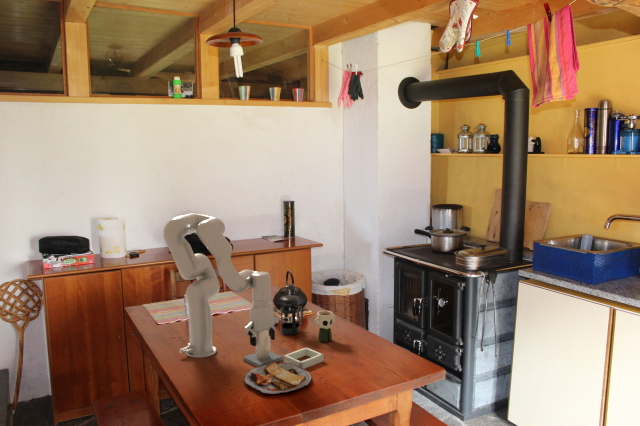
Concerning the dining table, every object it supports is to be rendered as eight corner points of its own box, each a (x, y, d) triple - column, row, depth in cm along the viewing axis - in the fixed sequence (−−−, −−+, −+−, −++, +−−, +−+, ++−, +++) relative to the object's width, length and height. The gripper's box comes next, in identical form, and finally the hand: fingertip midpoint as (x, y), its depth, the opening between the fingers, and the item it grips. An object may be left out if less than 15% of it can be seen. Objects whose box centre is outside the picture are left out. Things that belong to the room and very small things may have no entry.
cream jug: (253, 356, 229) (252, 329, 227) (263, 353, 232) (263, 325, 231) (264, 362, 223) (263, 333, 222) (274, 358, 227) (274, 330, 225)
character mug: (318, 345, 245) (318, 317, 243) (310, 340, 251) (310, 312, 249) (339, 340, 250) (339, 313, 249) (330, 335, 256) (330, 308, 255)
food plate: (232, 380, 210) (232, 371, 209) (279, 363, 226) (279, 355, 225) (275, 404, 192) (275, 395, 192) (322, 384, 208) (322, 375, 208)
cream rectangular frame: (300, 370, 219) (300, 362, 219) (283, 362, 226) (283, 355, 226) (323, 361, 227) (323, 354, 227) (306, 354, 235) (306, 347, 235)
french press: (283, 337, 255) (283, 289, 251) (275, 331, 263) (275, 284, 260) (306, 333, 260) (306, 285, 257) (298, 327, 268) (297, 281, 265)
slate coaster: (259, 368, 221) (259, 364, 221) (243, 360, 229) (243, 357, 228) (282, 359, 229) (282, 356, 229) (266, 352, 237) (266, 349, 237)
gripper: (272, 296, 234) (273, 334, 236) (239, 304, 222) (240, 345, 224) (284, 299, 229) (284, 339, 231) (250, 308, 217) (251, 350, 219)
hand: (262, 342), depth 228 cm, fingers open, 9 cm apart
